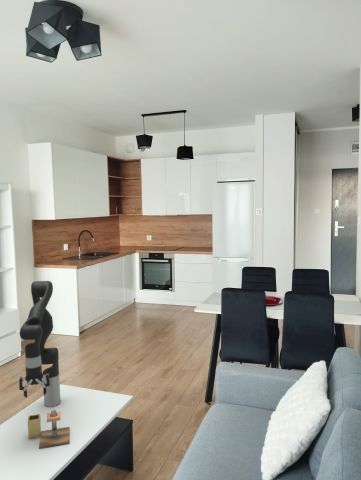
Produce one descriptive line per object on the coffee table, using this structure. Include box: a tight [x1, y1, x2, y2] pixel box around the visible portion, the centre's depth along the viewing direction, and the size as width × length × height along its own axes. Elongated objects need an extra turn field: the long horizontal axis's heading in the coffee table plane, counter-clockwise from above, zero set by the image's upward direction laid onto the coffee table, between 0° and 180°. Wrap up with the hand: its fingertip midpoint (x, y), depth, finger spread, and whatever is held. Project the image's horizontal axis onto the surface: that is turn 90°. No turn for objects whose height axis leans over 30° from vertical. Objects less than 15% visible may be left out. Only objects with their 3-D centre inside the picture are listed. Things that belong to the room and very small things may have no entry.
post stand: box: [38, 410, 71, 450], centre depth 203 cm, size 14×14×14 cm
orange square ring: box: [46, 410, 62, 423], centre depth 203 cm, size 6×6×2 cm
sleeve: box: [27, 413, 42, 439], centre depth 207 cm, size 6×6×9 cm
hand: (35, 395), depth 205 cm, fingers open, 8 cm apart
